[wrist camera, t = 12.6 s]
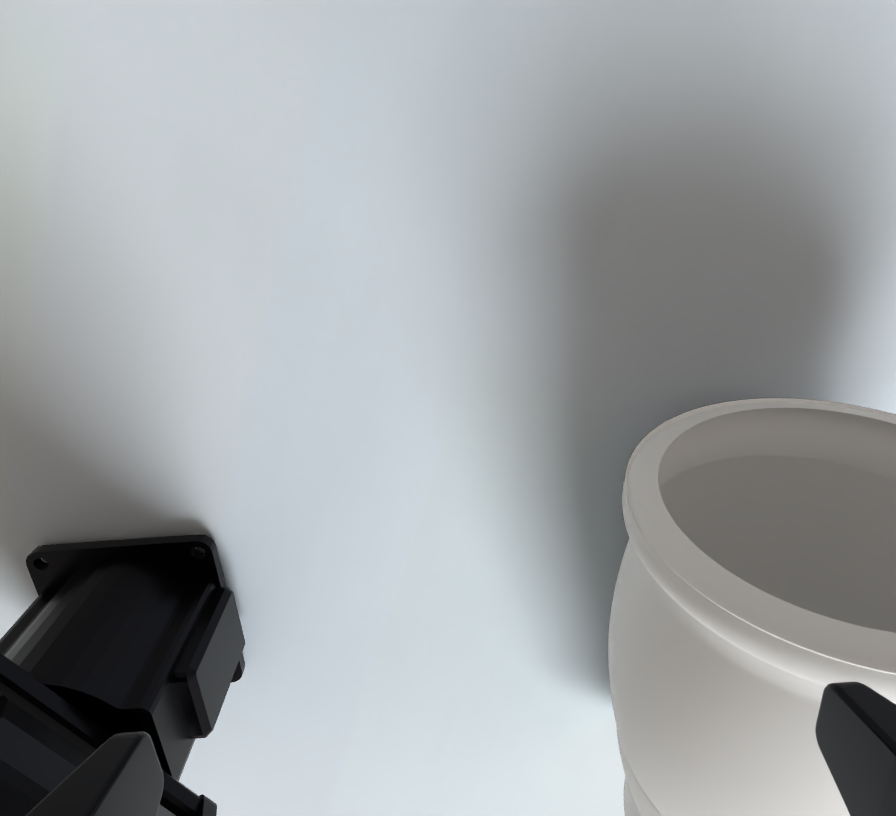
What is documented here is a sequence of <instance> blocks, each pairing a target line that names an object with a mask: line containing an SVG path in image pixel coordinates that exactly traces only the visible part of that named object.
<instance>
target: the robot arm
mask: <svg viewBox="0 0 896 816" xmlns="http://www.w3.org/2000/svg"><path fill="white" fill-rule="evenodd" d="M195 547H201V548H202V549H204V551H205V552H204V553H203V552H199V551H197V550H196V548H195ZM41 558H43V559H44V560H46V561H47V562H48V563H45V562H44V561H42V560H41ZM26 564H27V567H28V570H29V572H30V575H31V578H32V580H33V583H34V585H35V588H36V590H37V593H38V598H37V599H36V600H35V601H34V602H33V603H32V604H31V606H30V607H29V608H28V609H27V610H26V611H25V612H24V613H23V615H22V616H21V617H20V618H19V619H18V620H17V621H16V623H15V624H14V625H13V626H12V627H11V628H10V629H9V631H8V632H7V633H6V634H5V635H4V636H3V637H2V638H1V640H0V816H216V811H217V805H216V804H215V803H214V802H213V801H211V800H210V799H209V798H207V797H206V796H204V795H203V794H202V795H200V796H198V795H197V794H195V793H194V792H192V791H191V790H190V789H188V788H187V787H185V786H184V785H183V784H181V783H180V782H179V779H180V776H181V774H182V771H183V769H184V766H185V764H186V761H187V759H188V756H189V754H190V751H191V748H192V746H193V743H194V741H195V738H205V737H207V736H208V735H209V734H210V733H211V731H212V730H213V729H214V726H215V723H216V721H217V718H218V715H219V713H220V710H221V707H222V704H223V702H224V699H225V696H226V694H227V691H228V688H229V686H230V683H231V682H235V681H238V680H239V679H240V678H241V676H242V674H243V671H244V668H245V662H244V658H243V654H242V651H243V648H244V645H245V640H244V635H243V631H242V627H241V623H240V619H239V615H238V610H237V606H236V602H235V598H234V594H233V592H232V591H231V590H230V588H229V587H226V584H225V580H224V576H223V572H222V568H221V564H220V560H219V556H218V551H217V547H216V544H215V542H214V541H213V540H212V539H211V538H210V537H208V536H206V535H186V536H171V537H157V538H143V539H128V540H114V541H100V542H85V543H71V544H57V545H43V546H39V547H37V548H36V549H35V550H33V552H32V553H31V554H30V555H29V556H28V557H27V559H26ZM815 733H816V739H817V742H818V746H819V748H820V750H821V753H822V755H823V757H824V759H825V761H826V764H827V766H828V768H829V770H830V772H831V775H832V777H833V779H834V781H835V783H836V785H837V788H838V790H839V792H840V794H841V796H842V799H843V801H844V803H845V805H846V807H847V810H848V812H849V814H850V816H896V704H894V703H893V702H891V701H890V700H888V699H887V698H885V697H884V696H882V695H880V694H879V693H877V692H876V691H874V690H873V689H871V688H870V687H868V686H866V685H864V684H862V683H860V682H840V683H830V684H828V685H827V686H826V687H825V688H824V691H823V695H822V699H821V704H820V708H819V712H818V717H817V721H816V727H815Z"/></svg>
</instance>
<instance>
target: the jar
mask: <svg viewBox="0 0 896 816" xmlns="http://www.w3.org/2000/svg"><path fill="white" fill-rule="evenodd" d="M622 509H623V516H624V521H625V526H626V529H627V532H628V535H629V537H630V538H629V541H628V544H627V546H626V549H625V552H624V556H623V559H622V562H621V566H620V569H619V573H618V577H617V582H616V586H615V591H614V596H613V602H612V608H611V615H610V625H609V640H608V663H609V679H610V689H611V697H612V704H613V710H614V715H615V720H616V726H617V736H618V744H619V750H620V755H621V760H622V764H623V768H624V772H625V775H626V776H625V782H624V811H625V816H850V814H849V812H848V810H847V807H846V805H845V803H844V801H843V799H842V796H841V794H840V792H839V790H838V788H837V785H836V783H835V781H834V779H833V777H832V775H831V772H830V770H829V768H828V766H827V764H826V761H825V759H824V757H823V755H822V753H821V750H820V748H819V746H818V742H817V739H816V733H815V727H816V721H817V717H818V712H819V708H820V704H821V699H822V695H823V691H824V688H825V687H826V686H827V685H828V684H830V683H840V682H860V683H862V684H864V685H866V686H868V687H870V688H871V689H873V690H874V691H876V692H877V693H879V694H880V695H882V696H884V697H885V698H887V699H888V700H890V701H891V702H893V703H894V704H896V414H892V413H888V412H884V411H880V410H876V409H871V408H866V407H861V406H855V405H850V404H843V403H837V402H829V401H820V400H809V399H793V398H761V399H746V400H736V401H729V402H723V403H717V404H713V405H708V406H704V407H700V408H697V409H694V410H691V411H688V412H685V413H683V414H680V415H678V416H676V417H673V418H671V419H669V420H668V421H666V422H664V423H662V424H661V425H659V426H658V427H656V428H655V429H654V430H652V431H651V432H650V433H649V434H648V435H646V436H645V437H644V438H643V439H642V441H641V442H640V443H639V444H638V445H637V447H636V448H635V450H634V451H633V453H632V455H631V457H630V459H629V462H628V465H627V469H626V474H625V480H624V485H623V492H622Z"/></svg>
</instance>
